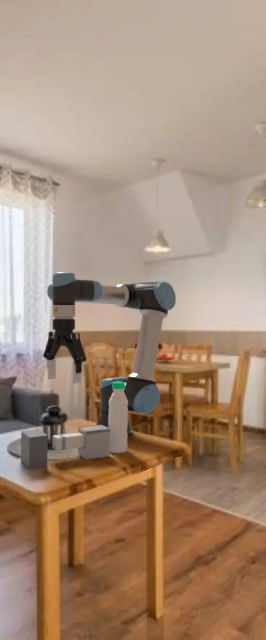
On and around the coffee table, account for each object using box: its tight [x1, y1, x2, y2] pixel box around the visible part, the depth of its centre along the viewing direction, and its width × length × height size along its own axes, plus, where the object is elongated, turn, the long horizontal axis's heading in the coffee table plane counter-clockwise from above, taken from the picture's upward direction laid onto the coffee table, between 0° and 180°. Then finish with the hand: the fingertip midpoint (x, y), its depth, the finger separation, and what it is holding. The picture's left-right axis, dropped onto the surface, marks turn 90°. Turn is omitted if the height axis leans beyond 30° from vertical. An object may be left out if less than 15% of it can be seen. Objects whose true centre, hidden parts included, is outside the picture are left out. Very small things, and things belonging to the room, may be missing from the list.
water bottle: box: [108, 382, 129, 454], centre depth 168 cm, size 7×7×25 cm
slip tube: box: [51, 432, 85, 451], centre depth 160 cm, size 19×4×4 cm, turn 120°
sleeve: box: [77, 424, 111, 460], centre depth 162 cm, size 9×7×10 cm
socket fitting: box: [20, 429, 49, 470], centre depth 152 cm, size 6×9×10 cm, turn 30°
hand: (64, 380), depth 158 cm, fingers open, 13 cm apart
